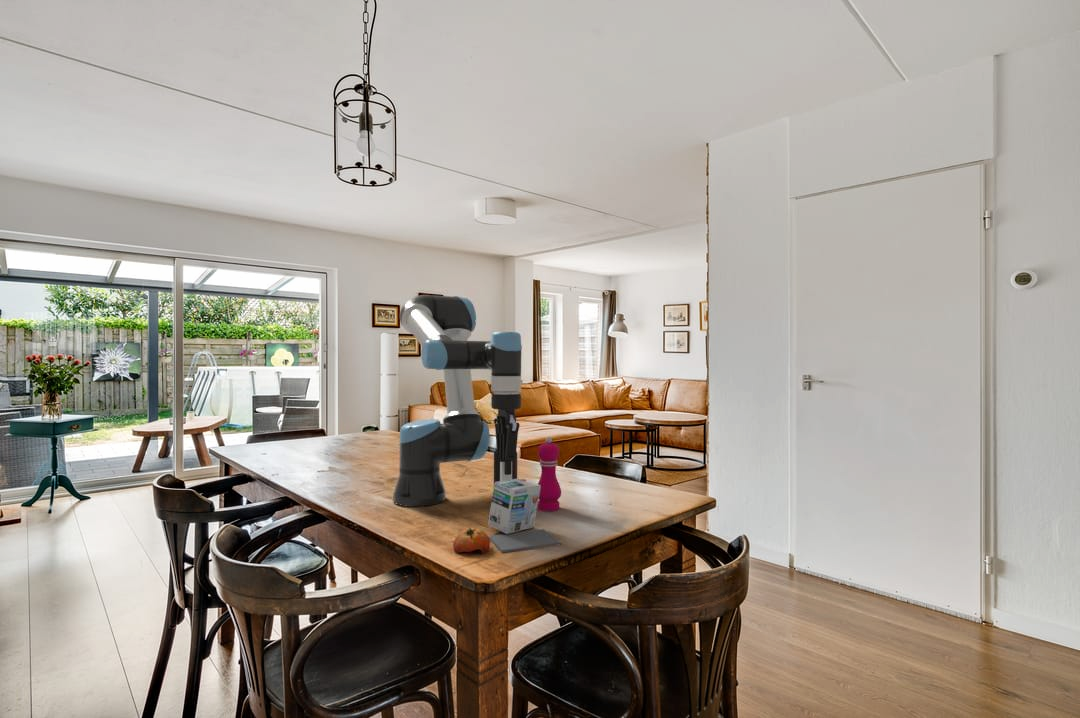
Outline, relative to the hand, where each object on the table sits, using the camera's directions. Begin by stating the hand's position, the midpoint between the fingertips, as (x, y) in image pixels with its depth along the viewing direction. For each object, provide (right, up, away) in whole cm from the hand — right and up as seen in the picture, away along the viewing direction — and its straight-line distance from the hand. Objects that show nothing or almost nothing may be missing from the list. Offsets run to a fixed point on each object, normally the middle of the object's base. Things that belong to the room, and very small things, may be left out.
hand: (506, 486), depth 134 cm
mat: (+5, -10, -12) cm, 16 cm away
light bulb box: (+1, -9, -4) cm, 10 cm away
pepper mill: (+11, -10, +15) cm, 21 cm away
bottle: (-1, -10, +19) cm, 21 cm away
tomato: (-6, -10, -17) cm, 21 cm away
